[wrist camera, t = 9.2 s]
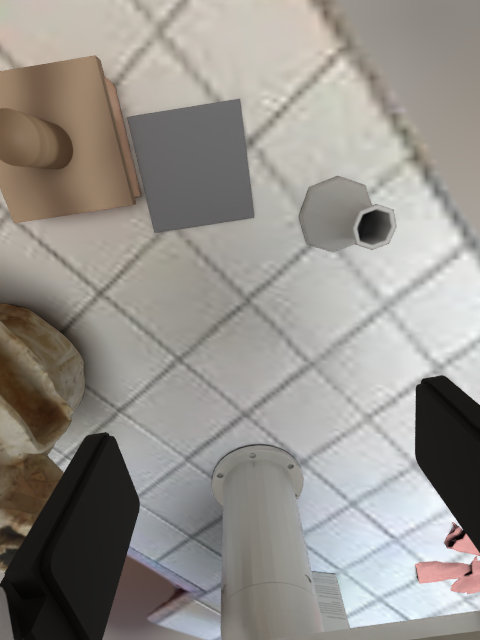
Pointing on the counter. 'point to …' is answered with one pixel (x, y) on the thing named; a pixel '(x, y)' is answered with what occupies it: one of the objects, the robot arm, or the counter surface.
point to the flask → (344, 216)
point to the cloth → (454, 566)
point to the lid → (60, 142)
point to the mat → (193, 165)
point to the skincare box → (330, 602)
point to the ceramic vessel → (31, 417)
